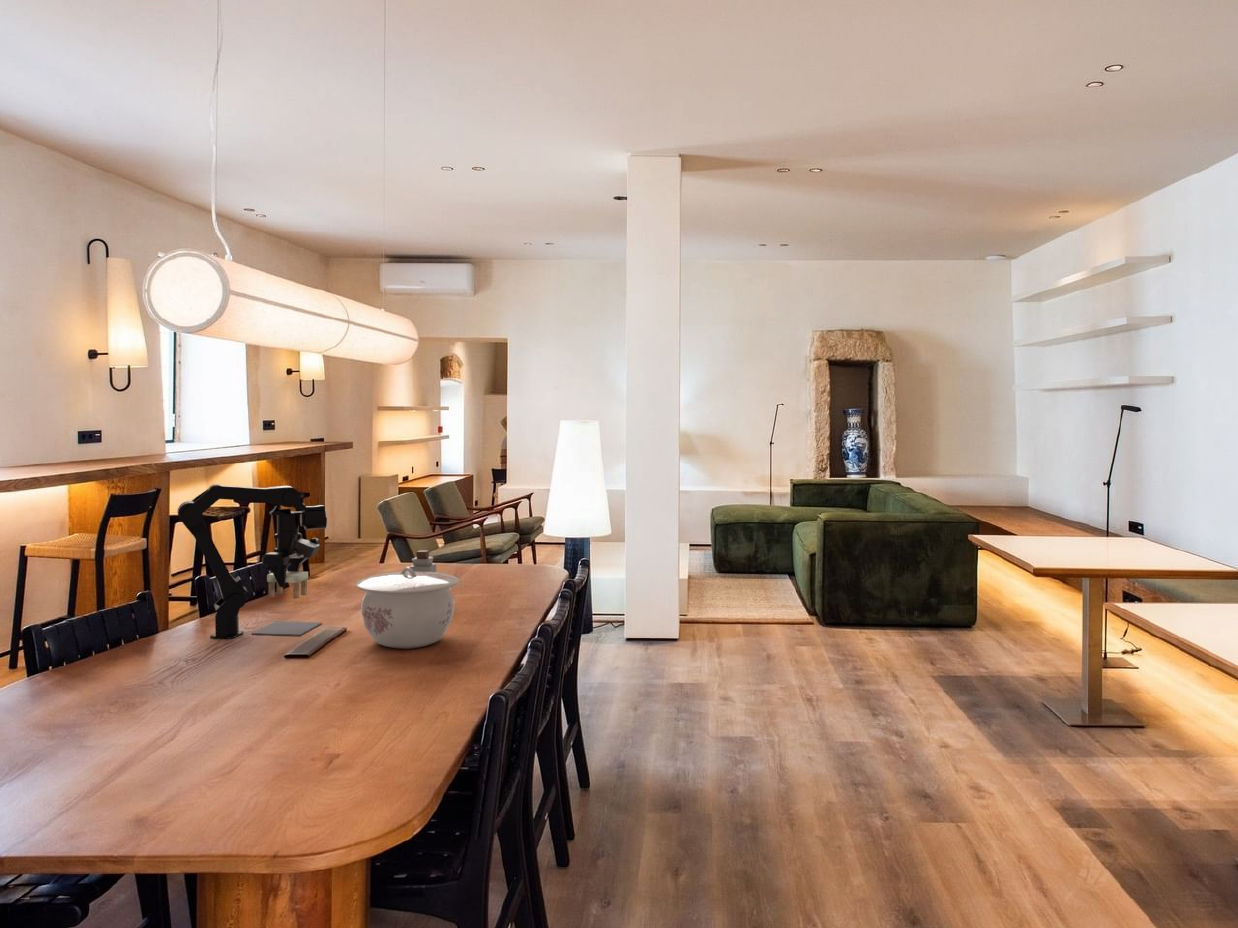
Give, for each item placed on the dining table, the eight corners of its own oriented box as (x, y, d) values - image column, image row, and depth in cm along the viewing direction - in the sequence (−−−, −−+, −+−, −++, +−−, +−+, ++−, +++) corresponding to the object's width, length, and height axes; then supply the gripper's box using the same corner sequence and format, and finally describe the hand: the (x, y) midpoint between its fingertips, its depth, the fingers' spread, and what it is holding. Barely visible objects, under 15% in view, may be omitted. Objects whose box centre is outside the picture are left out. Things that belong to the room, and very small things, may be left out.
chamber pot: (435, 659, 216) (435, 577, 215) (335, 652, 221) (334, 573, 220) (476, 632, 243) (475, 559, 242) (386, 627, 249) (385, 556, 248)
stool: (267, 597, 242) (267, 574, 242) (278, 593, 249) (278, 570, 248) (297, 598, 241) (297, 575, 241) (308, 594, 248) (308, 571, 248)
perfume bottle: (436, 604, 279) (436, 549, 278) (429, 609, 272) (429, 552, 271) (416, 604, 280) (416, 549, 279) (409, 608, 273) (408, 552, 272)
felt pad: (300, 635, 238) (300, 634, 238) (251, 634, 239) (251, 633, 239) (321, 623, 252) (321, 622, 252) (276, 622, 253) (276, 621, 253)
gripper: (300, 535, 234) (300, 592, 235) (329, 527, 253) (328, 579, 254) (261, 534, 235) (261, 590, 236) (292, 526, 254) (292, 578, 254)
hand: (287, 584), depth 245 cm, fingers closed on stool, 6 cm apart
